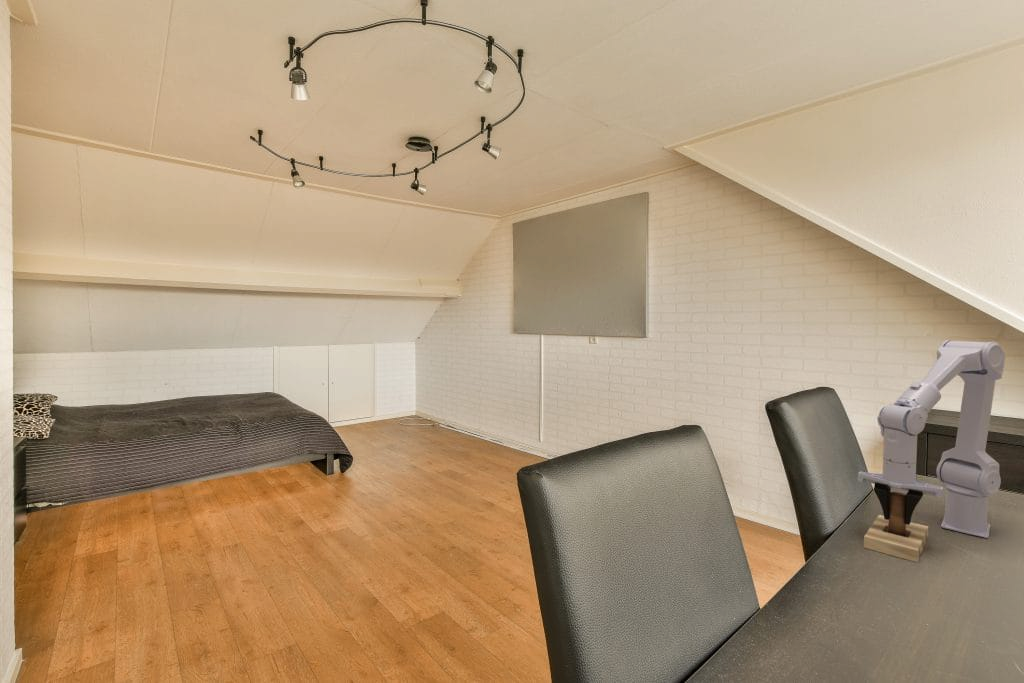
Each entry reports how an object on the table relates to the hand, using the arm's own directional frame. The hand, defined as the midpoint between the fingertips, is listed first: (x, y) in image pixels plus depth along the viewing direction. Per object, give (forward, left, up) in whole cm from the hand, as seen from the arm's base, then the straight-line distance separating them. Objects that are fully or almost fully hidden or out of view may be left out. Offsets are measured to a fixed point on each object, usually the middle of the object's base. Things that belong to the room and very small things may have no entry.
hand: (897, 520), depth 107 cm
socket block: (0, 0, -5) cm, 5 cm away
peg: (0, 0, -3) cm, 3 cm away
